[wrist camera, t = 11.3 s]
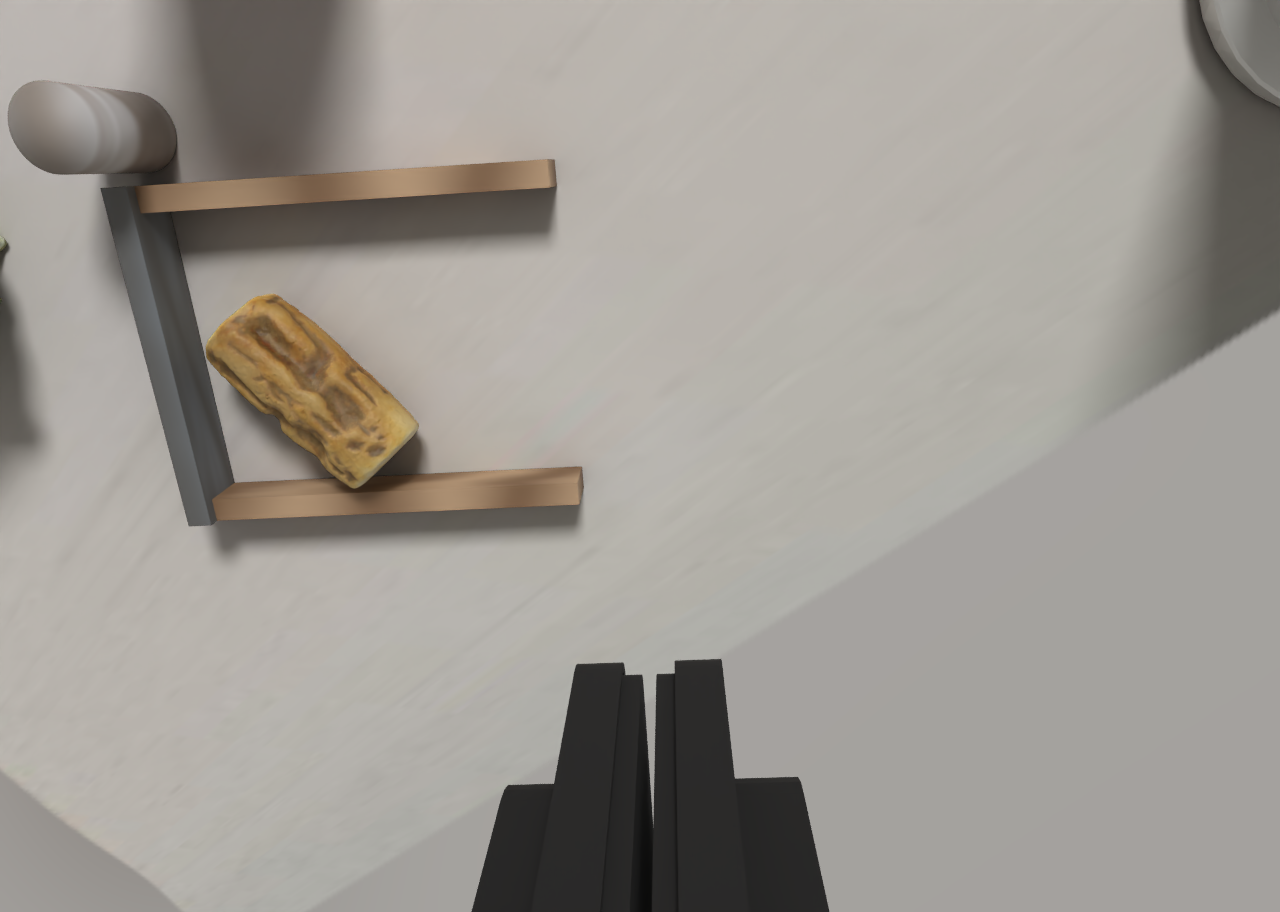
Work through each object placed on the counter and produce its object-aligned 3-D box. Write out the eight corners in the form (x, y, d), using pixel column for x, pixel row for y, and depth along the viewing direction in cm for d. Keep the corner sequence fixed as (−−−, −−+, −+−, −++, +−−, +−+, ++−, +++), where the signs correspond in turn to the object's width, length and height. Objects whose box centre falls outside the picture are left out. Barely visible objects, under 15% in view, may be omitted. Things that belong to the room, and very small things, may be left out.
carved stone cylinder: (229, 346, 36) (177, 369, 33) (286, 278, 35) (241, 293, 31) (375, 474, 38) (343, 509, 34) (435, 412, 37) (408, 442, 33)
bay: (545, 62, 32) (524, 45, 27) (583, 487, 38) (571, 533, 33) (92, 94, 33) (-5, 83, 28) (196, 505, 39) (131, 552, 34)
